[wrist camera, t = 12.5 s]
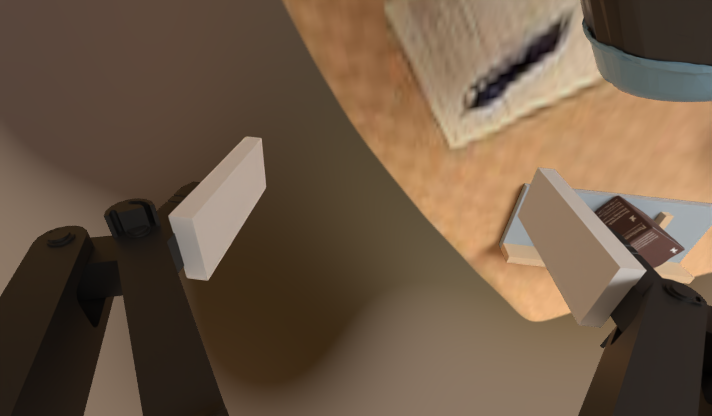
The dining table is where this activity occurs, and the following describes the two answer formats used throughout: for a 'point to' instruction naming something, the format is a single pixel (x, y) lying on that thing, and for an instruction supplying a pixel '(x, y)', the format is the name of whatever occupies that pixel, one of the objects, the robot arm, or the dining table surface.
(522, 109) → the dining table surface
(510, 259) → the board
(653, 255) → the box
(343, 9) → the dining table surface
